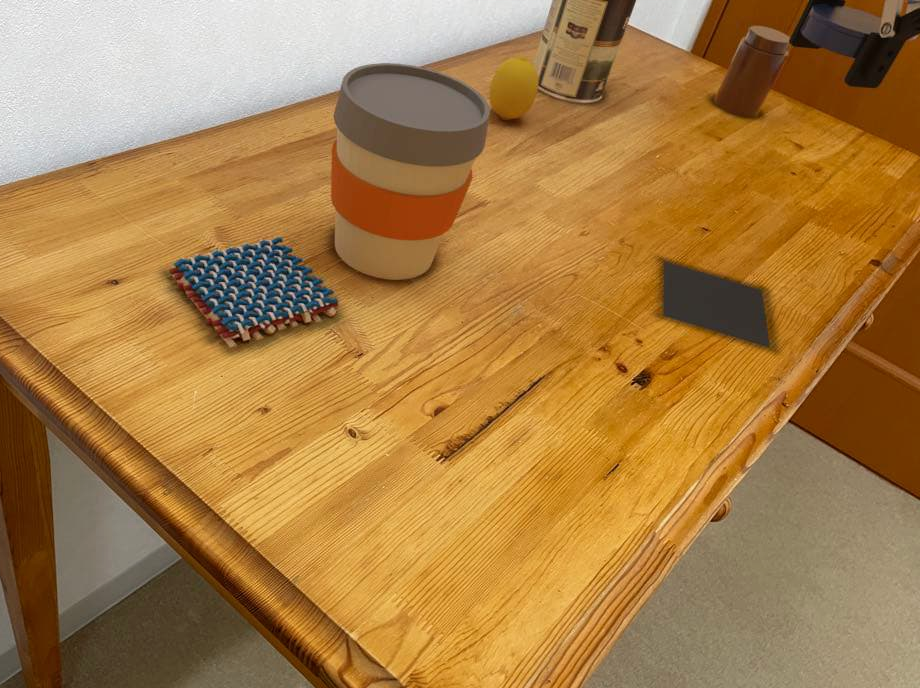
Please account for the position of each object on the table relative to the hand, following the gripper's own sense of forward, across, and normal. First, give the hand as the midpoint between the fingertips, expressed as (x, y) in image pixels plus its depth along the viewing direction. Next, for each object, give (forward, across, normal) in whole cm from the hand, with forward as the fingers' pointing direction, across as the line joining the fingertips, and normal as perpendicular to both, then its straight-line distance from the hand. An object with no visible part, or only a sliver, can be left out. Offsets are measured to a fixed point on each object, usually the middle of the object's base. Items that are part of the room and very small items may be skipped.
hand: (832, 63), depth 70 cm
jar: (+22, -40, +28) cm, 54 cm away
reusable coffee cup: (+22, -4, -34) cm, 40 cm away
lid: (-3, 0, 0) cm, 3 cm away
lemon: (+22, -32, -11) cm, 41 cm away
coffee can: (+22, -44, +2) cm, 49 cm away
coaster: (+22, +4, -3) cm, 22 cm away
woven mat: (+22, +2, -47) cm, 52 cm away
